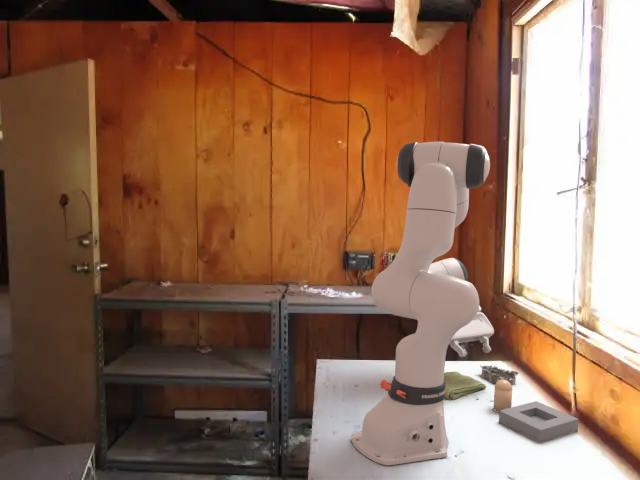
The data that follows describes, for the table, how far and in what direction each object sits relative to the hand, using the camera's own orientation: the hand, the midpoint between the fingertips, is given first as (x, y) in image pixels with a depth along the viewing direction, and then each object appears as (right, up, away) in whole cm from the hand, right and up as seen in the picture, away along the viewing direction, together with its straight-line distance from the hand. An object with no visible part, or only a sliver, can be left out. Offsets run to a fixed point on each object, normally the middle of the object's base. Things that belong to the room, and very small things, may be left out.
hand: (476, 353), depth 140 cm
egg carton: (+12, -12, +16) cm, 23 cm away
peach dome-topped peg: (+5, -13, -8) cm, 16 cm away
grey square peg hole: (+10, -14, -17) cm, 24 cm away
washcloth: (-5, -13, +7) cm, 15 cm away
